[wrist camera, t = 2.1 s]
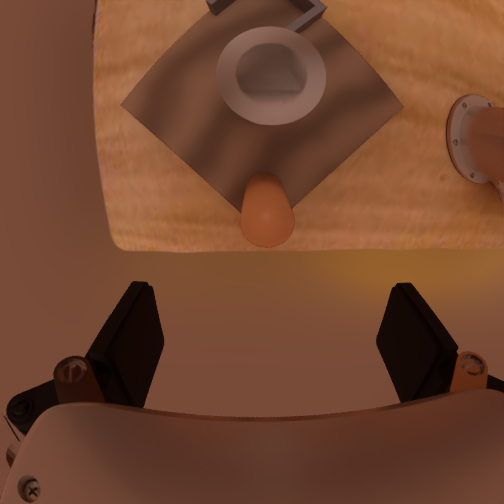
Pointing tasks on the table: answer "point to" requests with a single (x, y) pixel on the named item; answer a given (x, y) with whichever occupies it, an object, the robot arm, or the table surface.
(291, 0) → the notch block
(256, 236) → the plug
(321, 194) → the table surface
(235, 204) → the board
